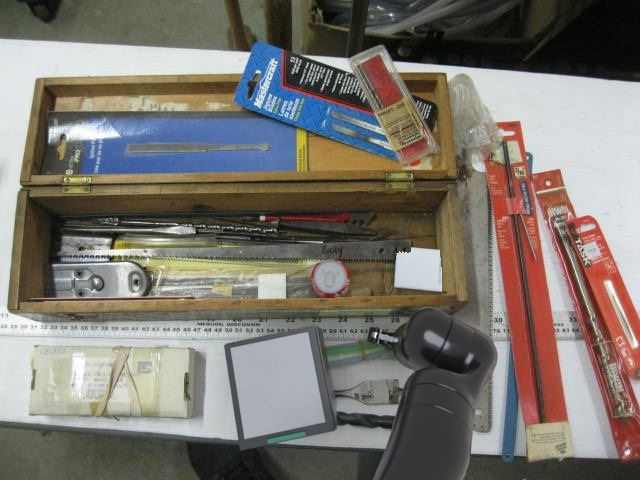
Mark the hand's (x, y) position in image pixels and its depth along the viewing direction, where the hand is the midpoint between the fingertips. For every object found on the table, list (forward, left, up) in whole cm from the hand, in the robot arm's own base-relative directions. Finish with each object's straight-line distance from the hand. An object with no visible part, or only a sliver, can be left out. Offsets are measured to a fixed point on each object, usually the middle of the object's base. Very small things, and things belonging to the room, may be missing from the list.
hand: (404, 343), depth 83 cm
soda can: (+14, +11, -4) cm, 18 cm away
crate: (-1, +21, -4) cm, 21 cm away
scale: (-1, +21, +21) cm, 30 cm away
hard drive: (+13, -8, -4) cm, 16 cm away
